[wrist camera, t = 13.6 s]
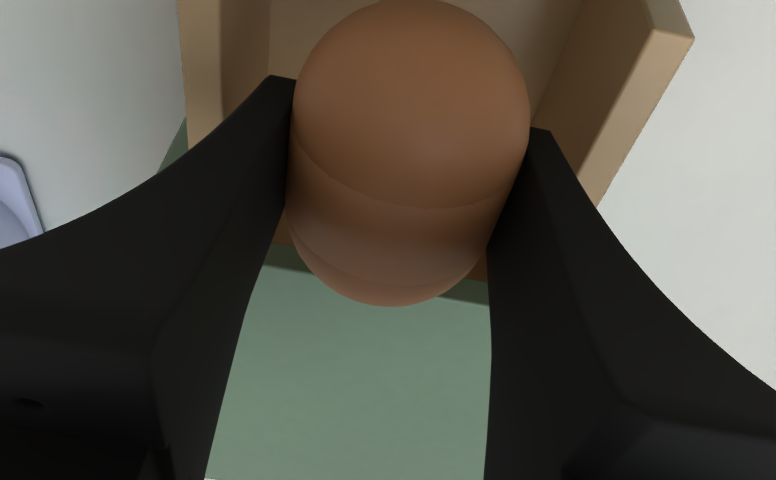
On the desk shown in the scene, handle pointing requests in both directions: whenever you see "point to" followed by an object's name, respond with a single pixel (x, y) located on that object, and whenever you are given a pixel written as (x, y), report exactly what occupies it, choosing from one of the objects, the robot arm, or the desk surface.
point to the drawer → (508, 20)
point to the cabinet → (352, 381)
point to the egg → (403, 150)
